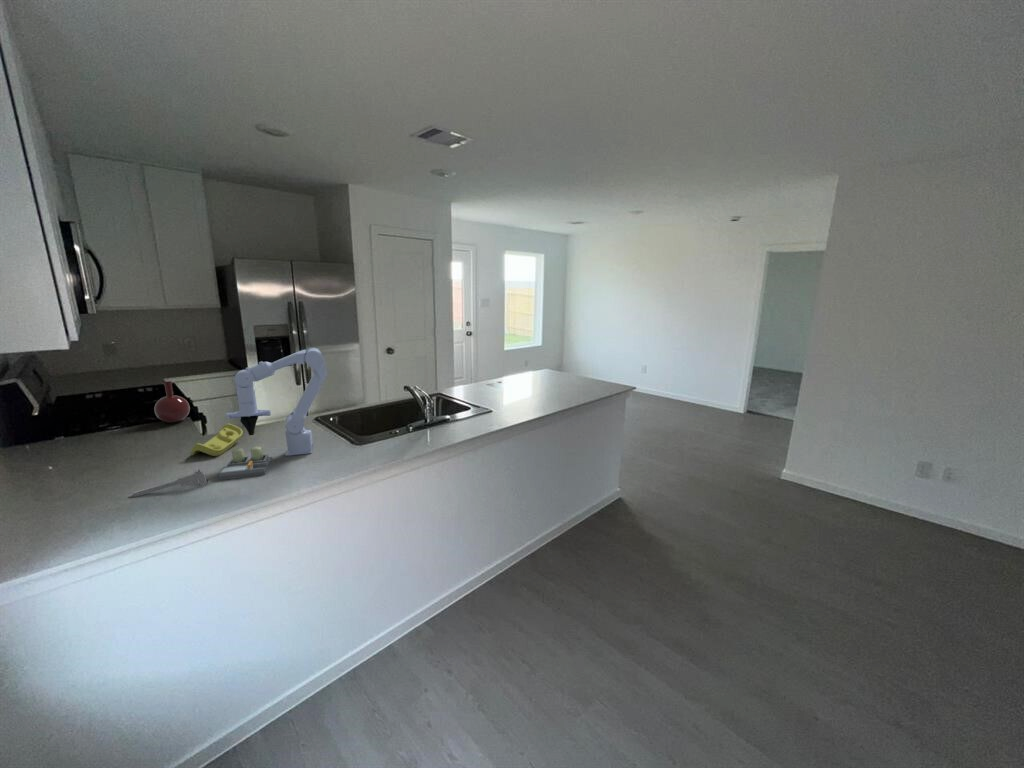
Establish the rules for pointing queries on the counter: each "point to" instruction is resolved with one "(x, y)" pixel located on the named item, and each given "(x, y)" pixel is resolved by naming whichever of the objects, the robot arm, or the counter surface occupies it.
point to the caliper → (174, 483)
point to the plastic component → (219, 441)
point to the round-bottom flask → (171, 406)
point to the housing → (259, 464)
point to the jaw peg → (238, 455)
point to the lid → (239, 467)
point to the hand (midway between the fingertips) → (251, 434)
